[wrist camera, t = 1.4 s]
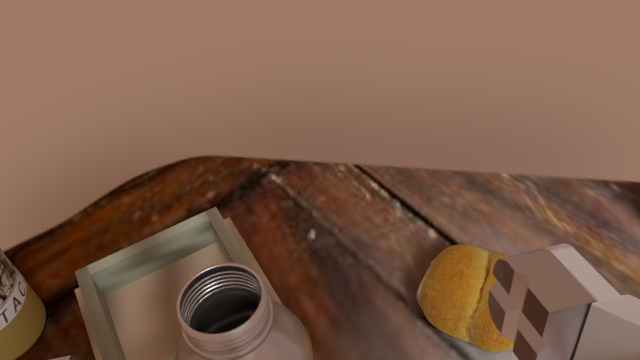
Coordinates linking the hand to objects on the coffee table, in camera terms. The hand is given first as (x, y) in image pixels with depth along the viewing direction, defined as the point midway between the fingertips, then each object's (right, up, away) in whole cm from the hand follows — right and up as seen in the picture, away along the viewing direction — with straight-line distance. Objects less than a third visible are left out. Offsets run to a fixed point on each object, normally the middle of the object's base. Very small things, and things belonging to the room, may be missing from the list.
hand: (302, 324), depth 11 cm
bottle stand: (-10, -8, +35) cm, 38 cm away
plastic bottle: (-2, -16, +27) cm, 31 cm away
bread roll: (+12, -7, +34) cm, 37 cm away
